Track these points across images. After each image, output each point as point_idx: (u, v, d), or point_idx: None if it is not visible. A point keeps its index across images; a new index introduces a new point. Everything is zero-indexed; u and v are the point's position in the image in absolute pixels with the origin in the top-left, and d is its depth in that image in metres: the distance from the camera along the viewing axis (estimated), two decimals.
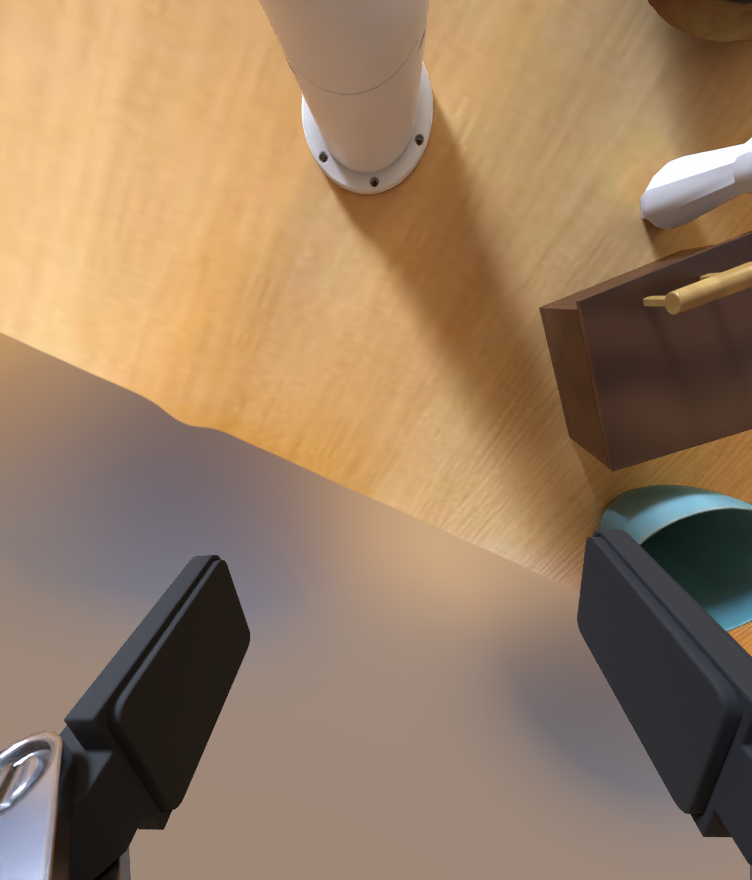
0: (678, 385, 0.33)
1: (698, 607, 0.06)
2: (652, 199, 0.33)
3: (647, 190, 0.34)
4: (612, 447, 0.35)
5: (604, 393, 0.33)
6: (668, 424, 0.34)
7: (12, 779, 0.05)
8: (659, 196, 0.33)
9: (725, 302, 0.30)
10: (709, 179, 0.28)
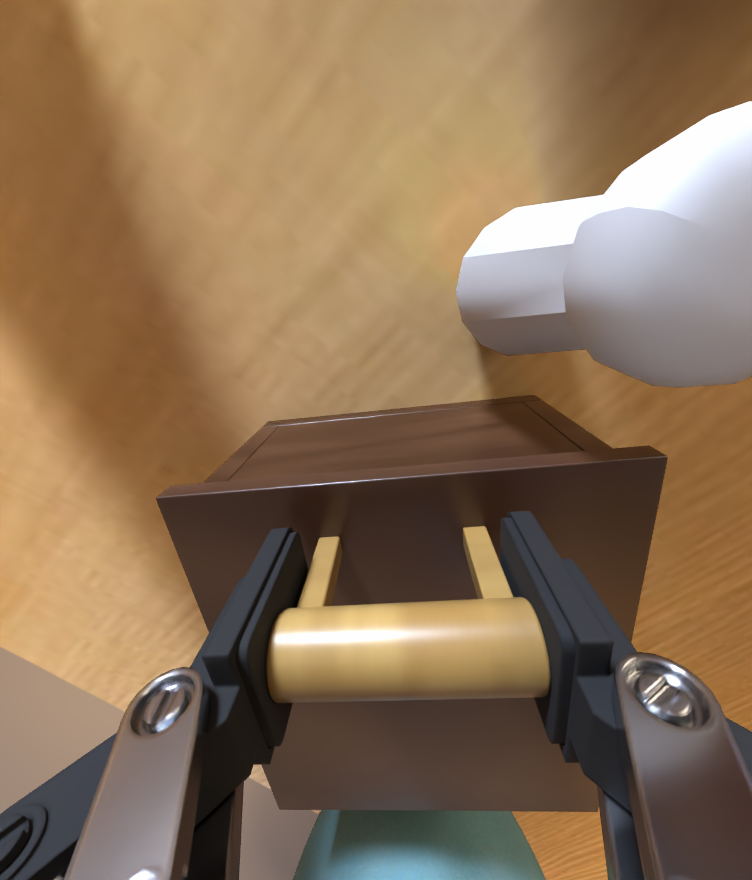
0: (407, 716, 0.14)
1: (566, 571, 0.07)
2: (463, 281, 0.14)
3: (463, 258, 0.15)
4: (274, 777, 0.16)
5: None
6: (385, 770, 0.16)
7: (165, 704, 0.06)
8: (470, 280, 0.14)
9: None
10: (533, 274, 0.09)
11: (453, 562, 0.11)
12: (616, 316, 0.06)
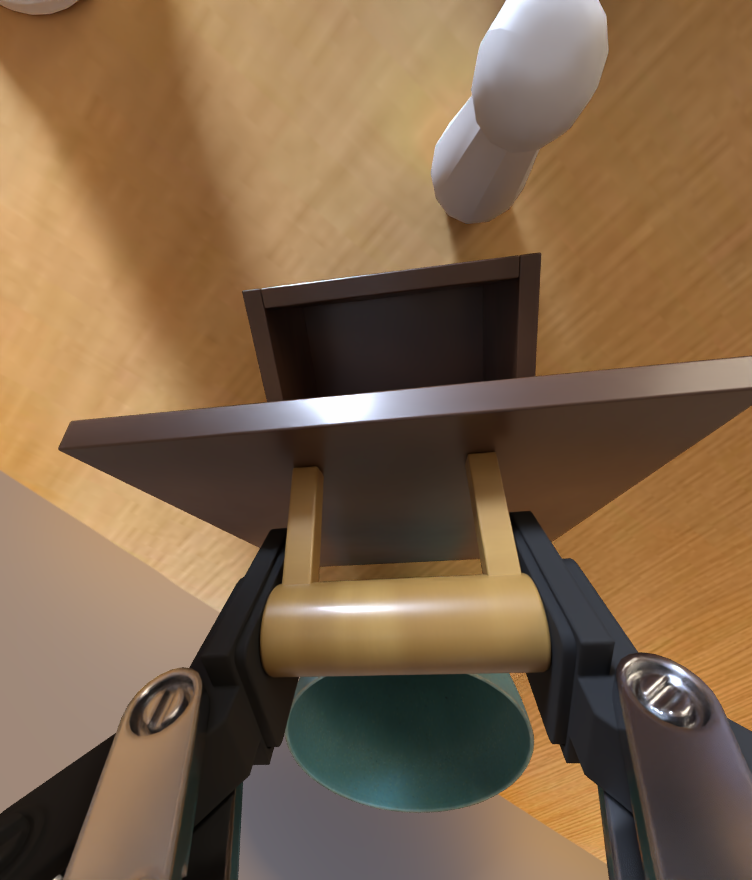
0: (395, 538, 0.17)
1: (567, 571, 0.07)
2: (435, 161, 0.21)
3: None
4: None
5: (251, 538, 0.16)
6: (377, 554, 0.20)
7: (164, 704, 0.06)
8: (438, 155, 0.20)
9: (516, 489, 0.11)
10: (467, 118, 0.16)
11: (451, 474, 0.10)
12: (488, 91, 0.12)
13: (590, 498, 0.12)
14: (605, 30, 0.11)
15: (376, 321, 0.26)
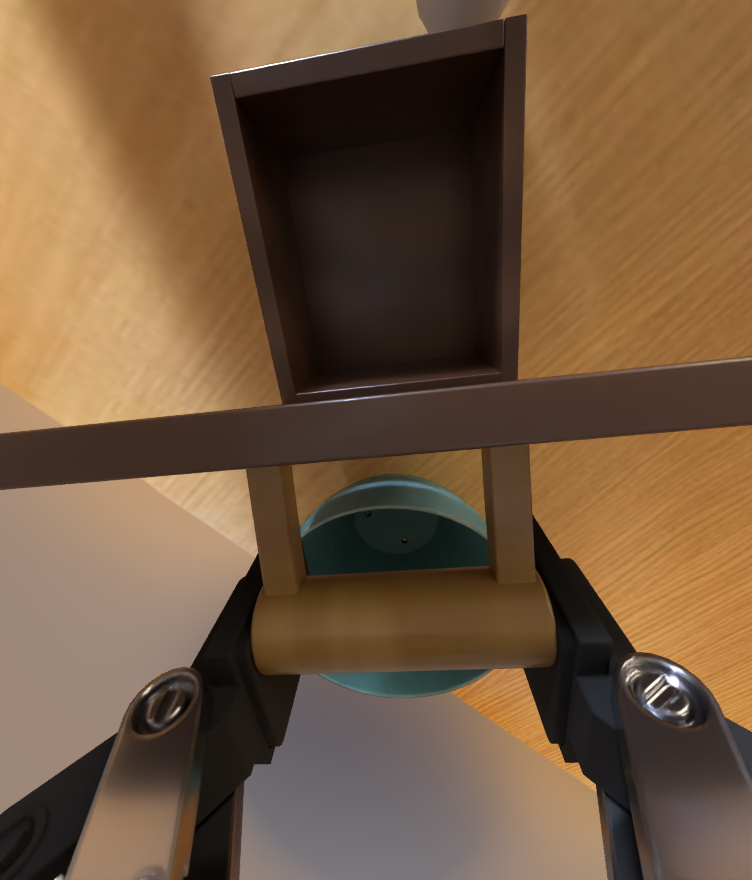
0: None
1: (566, 571, 0.07)
2: None
3: None
4: None
5: None
6: None
7: (165, 704, 0.06)
8: None
9: None
10: None
11: None
12: None
13: None
14: None
15: (359, 173, 0.25)
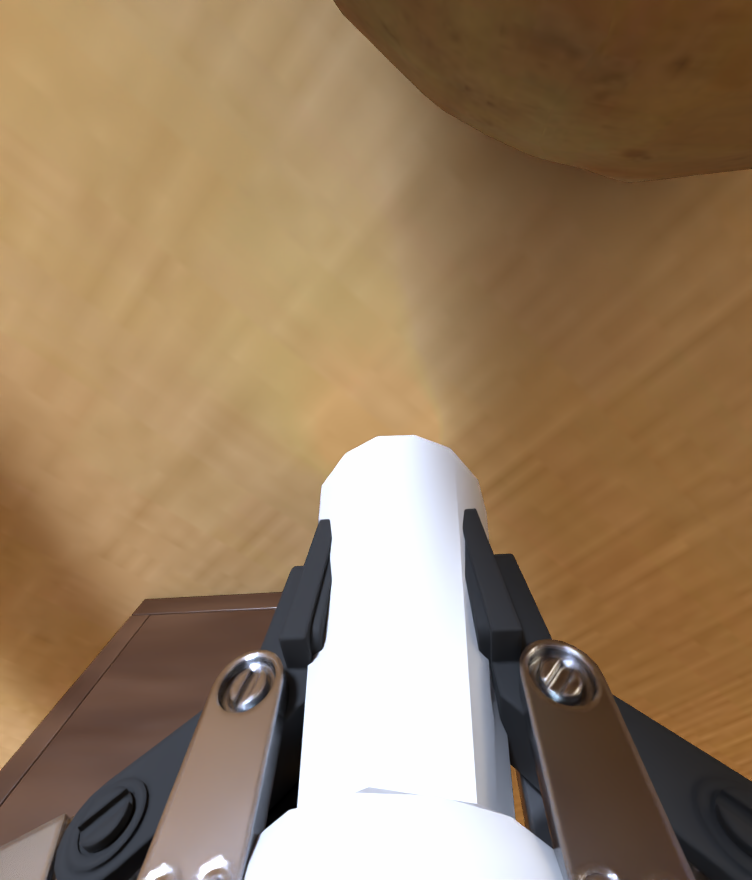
0: None
1: (495, 565, 0.07)
2: None
3: (324, 483, 0.12)
4: None
5: None
6: None
7: (247, 684, 0.06)
8: None
9: None
10: None
11: None
12: None
13: None
14: None
15: None
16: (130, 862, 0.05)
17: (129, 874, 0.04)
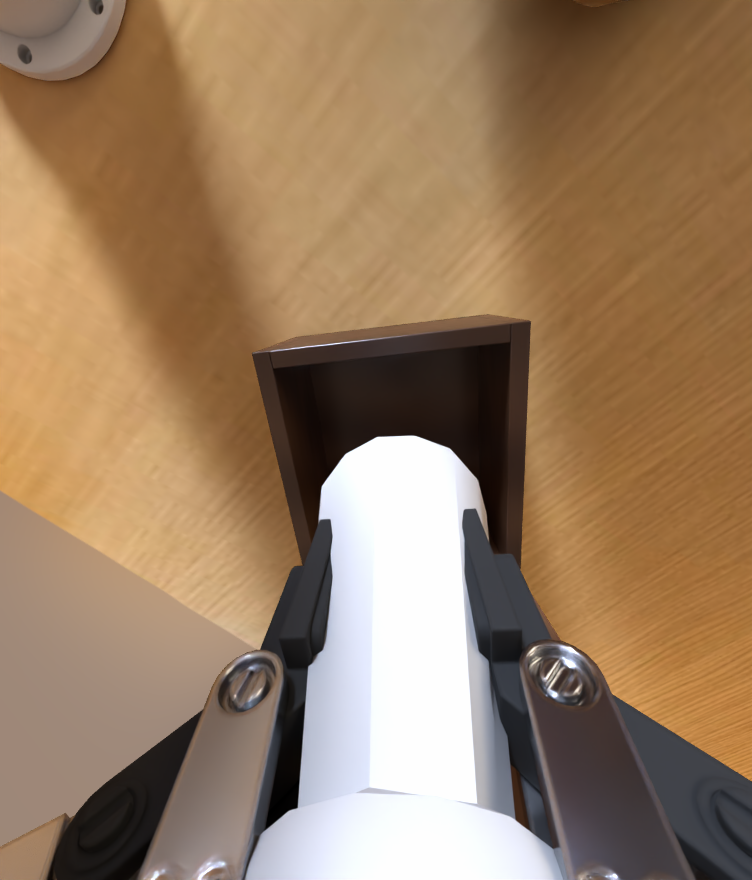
0: None
1: (495, 565, 0.07)
2: None
3: (324, 484, 0.12)
4: None
5: None
6: None
7: (247, 684, 0.06)
8: None
9: None
10: None
11: None
12: None
13: None
14: None
15: (376, 363, 0.27)
16: (130, 862, 0.05)
17: (129, 874, 0.04)
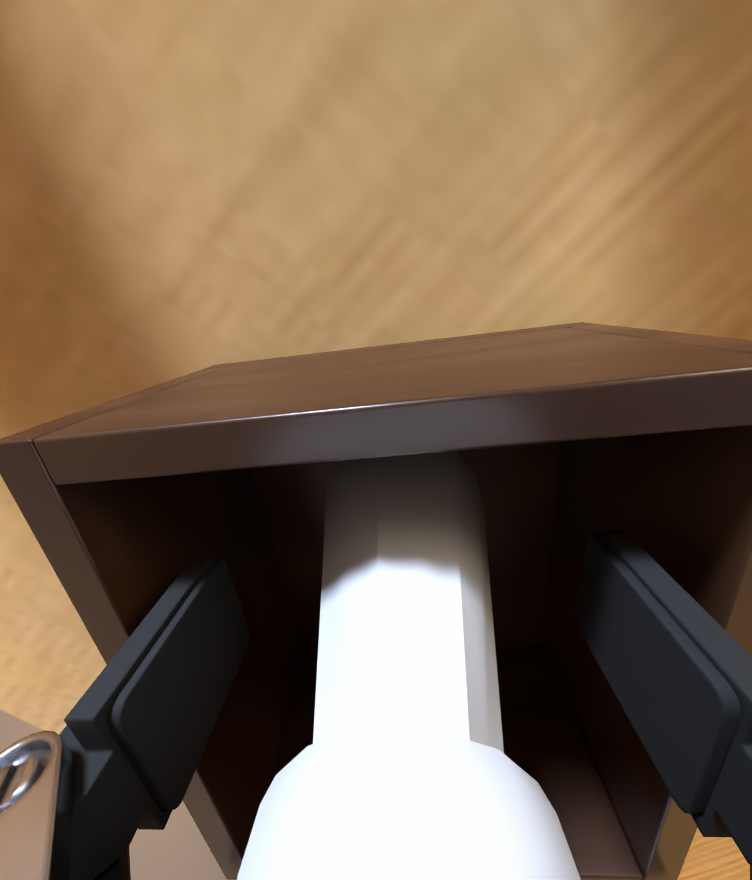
0: None
1: (698, 607, 0.06)
2: None
3: (329, 477, 0.13)
4: None
5: None
6: None
7: (12, 779, 0.05)
8: (324, 523, 0.12)
9: None
10: None
11: None
12: None
13: None
14: None
15: None
16: None
17: None
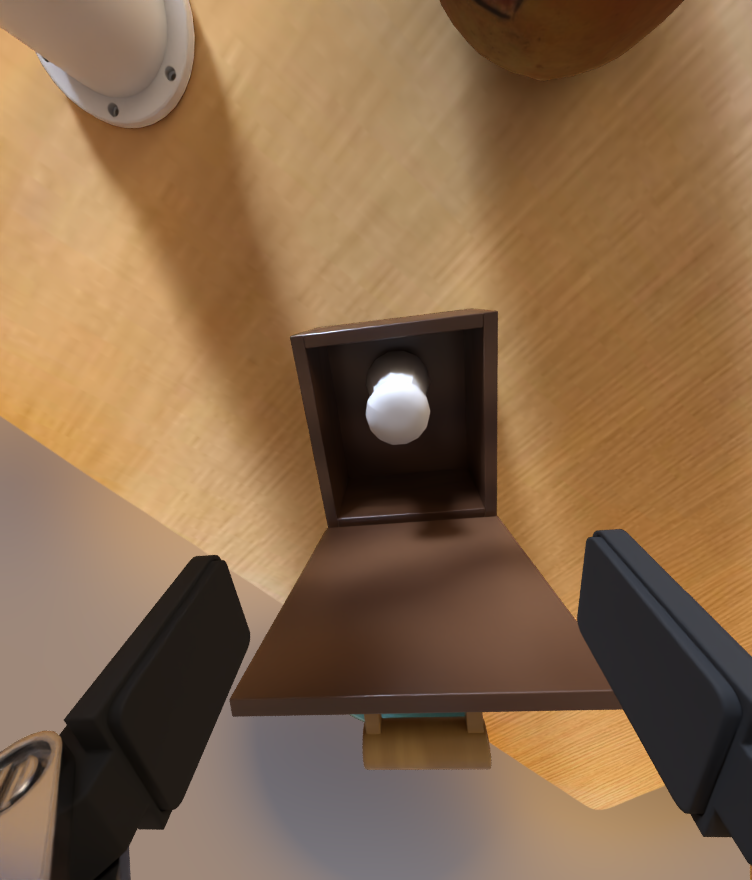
0: None
1: (698, 607, 0.06)
2: (367, 382, 0.32)
3: (368, 370, 0.32)
4: None
5: None
6: None
7: (12, 779, 0.05)
8: (368, 384, 0.31)
9: None
10: None
11: None
12: (371, 428, 0.23)
13: None
14: (425, 407, 0.23)
15: (382, 348, 0.34)
16: None
17: None
